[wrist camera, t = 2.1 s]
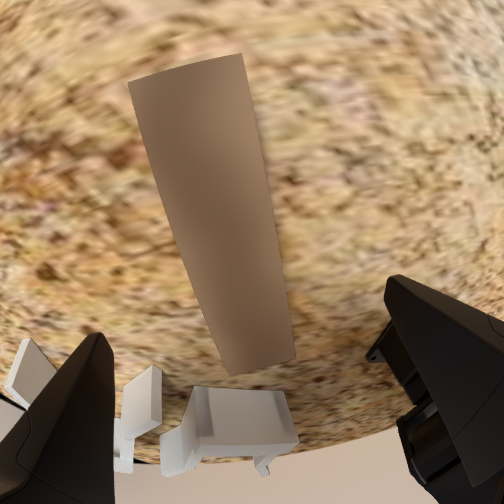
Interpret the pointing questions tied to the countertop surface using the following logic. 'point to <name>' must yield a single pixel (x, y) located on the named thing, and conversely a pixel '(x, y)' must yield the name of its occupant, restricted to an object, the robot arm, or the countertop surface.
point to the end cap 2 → (229, 429)
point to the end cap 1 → (125, 429)
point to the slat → (219, 205)
